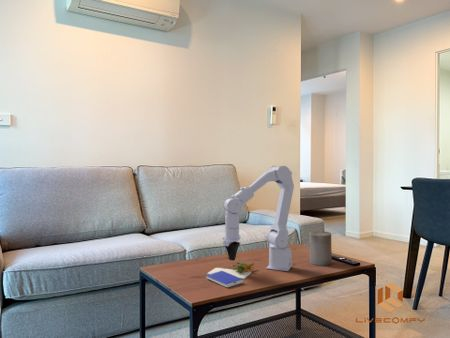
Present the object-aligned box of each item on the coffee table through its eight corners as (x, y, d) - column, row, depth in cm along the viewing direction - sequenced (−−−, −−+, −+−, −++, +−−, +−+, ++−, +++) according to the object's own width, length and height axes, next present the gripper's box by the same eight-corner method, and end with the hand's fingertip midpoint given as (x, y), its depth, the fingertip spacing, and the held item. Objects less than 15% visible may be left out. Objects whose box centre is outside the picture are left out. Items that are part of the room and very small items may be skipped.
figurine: (228, 266, 149) (244, 269, 144) (245, 258, 158) (260, 261, 153) (228, 273, 149) (244, 277, 144) (245, 265, 158) (261, 268, 153)
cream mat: (251, 272, 150) (251, 271, 150) (244, 279, 141) (244, 278, 141) (216, 268, 156) (216, 267, 156) (207, 274, 147) (207, 273, 147)
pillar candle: (327, 260, 170) (327, 228, 170) (334, 265, 160) (334, 231, 160) (307, 260, 170) (306, 228, 169) (312, 266, 160) (312, 232, 160)
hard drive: (206, 274, 141) (226, 283, 131) (222, 270, 146) (243, 278, 136) (206, 278, 141) (226, 287, 131) (222, 274, 146) (243, 282, 136)
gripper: (229, 224, 159) (229, 255, 159) (216, 229, 146) (216, 263, 146) (244, 225, 156) (244, 256, 157) (232, 230, 143) (232, 265, 143)
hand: (232, 260), depth 151 cm, fingers closed
